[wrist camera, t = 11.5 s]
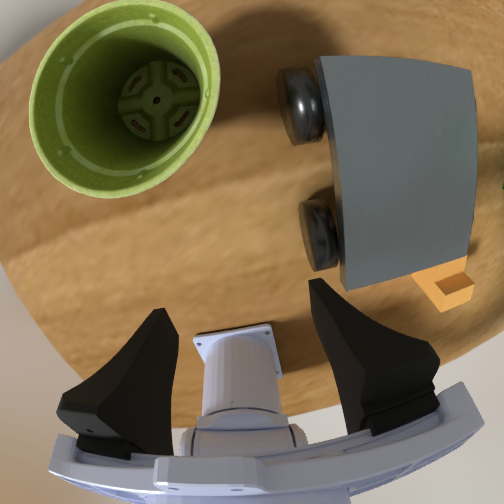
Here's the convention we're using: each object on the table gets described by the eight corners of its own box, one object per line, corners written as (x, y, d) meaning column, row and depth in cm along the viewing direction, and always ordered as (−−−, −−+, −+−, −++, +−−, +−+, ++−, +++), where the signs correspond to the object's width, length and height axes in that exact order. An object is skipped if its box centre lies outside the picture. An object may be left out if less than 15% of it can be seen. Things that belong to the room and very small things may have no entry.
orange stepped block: (439, 267, 25) (469, 300, 20) (411, 276, 25) (440, 312, 20) (446, 217, 22) (484, 245, 17) (417, 224, 22) (454, 255, 17)
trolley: (437, 221, 22) (477, 252, 16) (303, 250, 23) (324, 296, 17) (432, 73, 15) (483, 73, 10) (273, 74, 16) (290, 58, 10)
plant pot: (154, 20, 13) (107, -26, 5) (254, 87, 16) (270, 68, 9) (81, 119, 16) (6, 136, 8) (171, 186, 19) (132, 237, 12)
